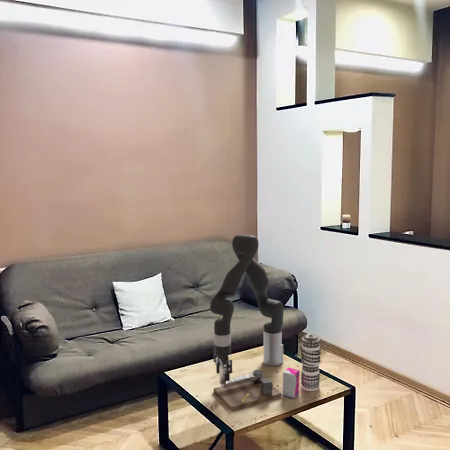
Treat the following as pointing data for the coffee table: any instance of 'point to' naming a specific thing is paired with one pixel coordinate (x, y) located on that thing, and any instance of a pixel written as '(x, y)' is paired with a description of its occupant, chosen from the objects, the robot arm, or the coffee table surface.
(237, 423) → the coffee table surface
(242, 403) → the brown board
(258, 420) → the coffee table surface
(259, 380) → the lever
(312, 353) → the white patterned cylinder
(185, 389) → the coffee table surface
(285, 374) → the supplement box
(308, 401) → the coffee table surface
